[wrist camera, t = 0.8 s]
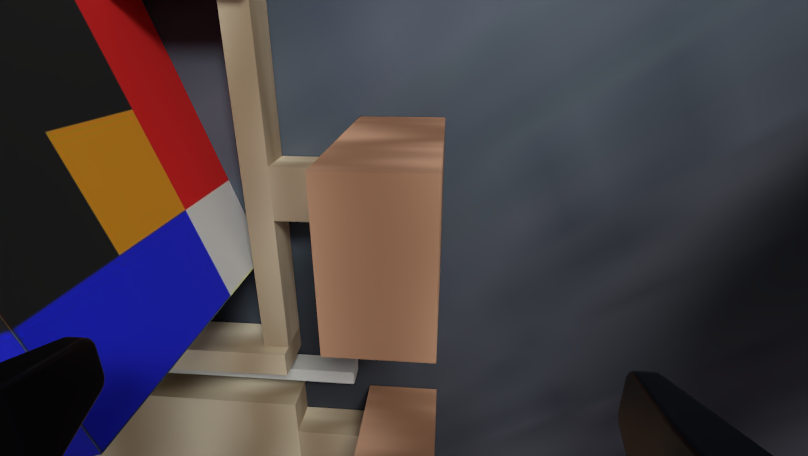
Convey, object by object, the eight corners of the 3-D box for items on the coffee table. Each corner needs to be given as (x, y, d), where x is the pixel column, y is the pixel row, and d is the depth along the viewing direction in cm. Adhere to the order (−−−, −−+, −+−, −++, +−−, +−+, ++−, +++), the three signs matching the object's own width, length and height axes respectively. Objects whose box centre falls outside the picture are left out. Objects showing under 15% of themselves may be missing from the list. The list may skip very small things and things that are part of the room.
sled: (450, -47, 15) (450, -103, 8) (437, 352, 21) (432, 500, 14) (-161, -38, 16) (-551, -79, 10) (-14, 327, 22) (-201, 449, 16)
